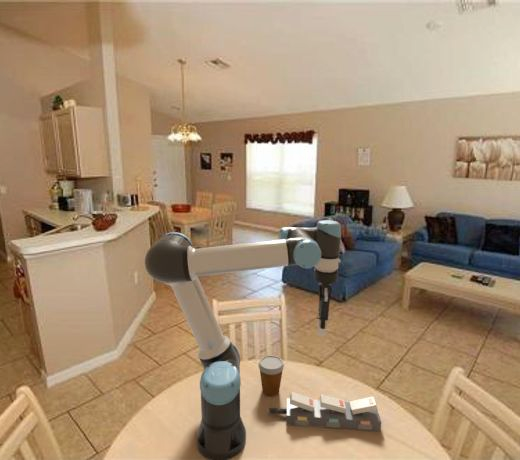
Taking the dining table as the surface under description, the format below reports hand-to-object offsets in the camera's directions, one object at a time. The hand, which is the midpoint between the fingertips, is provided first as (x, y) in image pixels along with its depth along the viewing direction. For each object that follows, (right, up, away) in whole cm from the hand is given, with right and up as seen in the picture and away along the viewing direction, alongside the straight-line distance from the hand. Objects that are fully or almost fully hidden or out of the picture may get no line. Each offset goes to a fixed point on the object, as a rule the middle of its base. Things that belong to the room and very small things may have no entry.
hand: (321, 335), depth 115 cm
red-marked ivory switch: (-7, -22, -1) cm, 23 cm away
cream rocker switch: (+13, -22, -2) cm, 26 cm away
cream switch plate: (+3, -22, -2) cm, 22 cm away
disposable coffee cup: (-17, -25, +13) cm, 33 cm away
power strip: (0, -28, -1) cm, 28 cm away
